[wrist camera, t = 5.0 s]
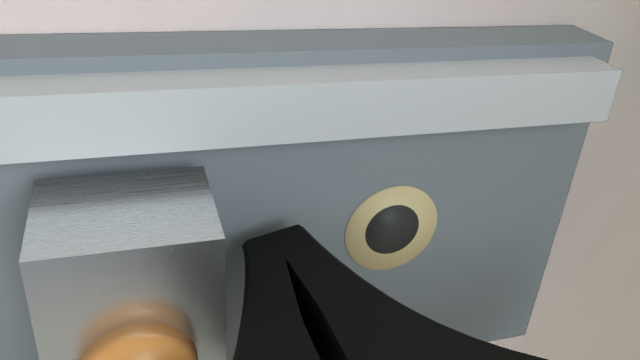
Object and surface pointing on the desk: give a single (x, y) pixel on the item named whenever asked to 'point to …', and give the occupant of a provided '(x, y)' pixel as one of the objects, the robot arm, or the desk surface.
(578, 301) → the desk surface
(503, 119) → the hole board
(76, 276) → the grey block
